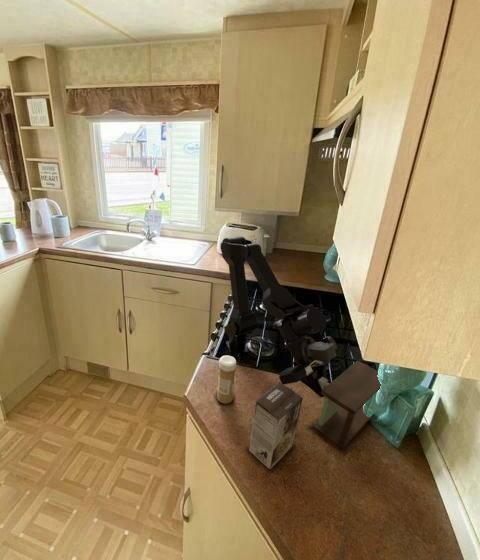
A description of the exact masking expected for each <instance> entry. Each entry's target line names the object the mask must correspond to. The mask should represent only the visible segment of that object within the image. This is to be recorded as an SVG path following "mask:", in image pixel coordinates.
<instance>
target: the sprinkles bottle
mask: <svg viewBox="0 0 480 560" xmlns="http://www.w3.org/2000/svg"><path fill="white" fill-rule="evenodd" d="M218 366H219V367H218V368H219V369H218V377H217V379H218V380H217V394H216V398H217V400H218V402H220V403H222V404H230V403H232V401H233V399H234V390H235V389H234V388H235V374H236V369H237V360H236V358H235V357H234V356H231V355H222V356H221V357H220V358H219V360H218Z"/></svg>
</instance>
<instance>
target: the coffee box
mask: <svg viewBox="0 0 480 560" xmlns="http://www.w3.org/2000/svg"><path fill="white" fill-rule="evenodd" d="M303 398H304V397H303V396H302V395H300V394H298V393H297V392H295V390H293V389H291V388H290V387H288V386H287V385H286V384H282V383H281V381H279V382H277V383H276V384H274V386H272V387H271V388H270V389H269V390H268V391H267V392H265V393H264V394H263V395H261V396H260V397H259V398H258V399H256V400H255V407H254V414H253V420H252V427H251V434H250V440H249V449H248V451H249V452H250V453H251V454H252V455H253V456H254V457H255V458H257V459H258V460H259V462H260V463H262V464H263V465H264V466H265V467H266V468H267V469H269V470H272V468H273V467H274V466H275V465H276V464H277V463H278V462H279V461H280V460H281V459H282V458H283V456H285V454H287V453H288V452H289V450H290V449H292V447H293V445H294V441H295V435H296V430H297V426H298V422H299V418H300V412H301V408H302V403H303V400H304V399H303Z"/></svg>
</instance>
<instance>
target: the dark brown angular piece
mask: <svg viewBox="0 0 480 560" xmlns="http://www.w3.org/2000/svg"><path fill="white" fill-rule="evenodd" d="M378 371H379V370H376V369H375V368H372V367H371V366H370V365H367V364H366V363H363V362H361V360H356V361H355V362H353V363H352V364H351V365H350V366H348V368H346V369H345V370H344V371H343V372H342V373H341V374H339V375H338V376H337V377H335V379H333V380H332V381H331V382H330V384H329V385H327V386H326V387H325V388H324V389H323V390H322V391H321V394H322V395H323V396H325V397H327V398H328V399H330V400H331V401H333V402H334V403H336V404H337V405H339V408H338V411H337V412H336V413H335V414H334V415H333V416H332V417H330V418H329V419H328V420H327V421H326V422H325V423H324V424H323V425H322V426H321V425H319V424H318V422H319V419H318V420H316V421H315V422H314V423H313V424H312V426H311V429H312V430H313V431H314V432H316V433H317V434H318V435H320V436H321V437H322V438H324V439H325V440H326V441H327V442H329V443H330V444H332V445H333V446H335V447H336V449H338V450H339V451H343V450H344V449H345V448H346V447H347V446H348V444H349V443H350V442H351V441H352V440H353V439H354V438H355V437H356V435H357V434H358V433H360V431H361V430H362V429H363V428H364V427H365V425H366V424H367V423H368V422H369V421H370V420H371V419H372V418H371V417H370V418H369V417H367V416H366V415H365V414H364V413H363V405H364V404H366V403H367V402H368V401H370V400H371V398H372V397H373V396H375V394H376V392H377V391H378V390H379V389H380V386H381V384H380V382H379V380H378V377H377V375H378Z"/></svg>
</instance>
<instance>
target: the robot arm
mask: <svg viewBox="0 0 480 560" xmlns="http://www.w3.org/2000/svg"><path fill="white" fill-rule="evenodd" d="M220 251H221V255H222V259H223V260H224V261H225V263H226V264H227V265H228V271H229V281H230V288H231V296H232V306H233V308H232V311H231V313H230V316H229V323H228V324H227V325H224V327H223V331H224V333H225V334H226V336H228V337H229V340H226V341H225V344H226V347H227V350H228V351H229V353H230V354H232V355H233V354H245V353H249V349H248V347H247V337H248V336H247V335H249V334H253V333H254V331H255V330H256V329H257V325H258V320H257V312H255V311H253V310H252V308H251V307H250V304H249V296H248V286H247V279H246V268H245V263H246V262H247V264H248V266H249V268H250V270H251V271H252V274H253V275H254V277H255V279H256V281H257V283H258V285H259V287H260V288H261V291H262V293H263V294H262V302H263V305H264V308H265V311H266V312H267V314H268V315H269V316H270V317H272V318H274V319H273V324H272V327H271V328H272V329H273V330H275V329H277V330H278V331H279V333H280V335H281V337H282V339H283V341H284V342H285V344H286V346H285V347H284V350H285V352H289V353H290V354H291V356H292V358H293V361H292V362H291V363H292V366H291V367H287V368H285V369H284V370H283V371H281V372H279V376H278V379H279V382H280V383H282V384H284V385H288V384H295V383H299V382H301V383H302V384H304V385H305V386H307V387H308V388H309V389H310V390H311V391H313V392H314V394H315V393H316V394H318V395H319V396H320V397H321V398H323V397H324V396H323V395H322V394H321V391H322V388H321V386H320V384H319V382H318V380H319V379H320V378H322V377H324V378H326V379H327V380H328V375H327V368H328V367H329V364H330V363H331V360H332V359H333V358H336V357H337V354H339V352H338V350H337V349H338V348H339V347H338V346H339V345H337V342H336V341H335V339H334V338H333V337H332V336H329V335H328V336H325V337H323V338H322V340H320V341H315V339H314V338H313V337H312V336H310V335H313V334H316V333H320V332H322V331H324V330H325V329H326V328H327V323H328V321H327V318H326V316H325V314H324V313H323V312H322V311H321V310H319V309H318V308H315V307H314V304H312V303H311V304H307V305H305V306H304V305H303V304H302V303H300V302H299V301H297V300H296V299H295V297H294V296H293V295H292V293H291V292H290V291H289V289H288V288H286V287H285V286H283V285H282V284H280V282H279V281H278V279H277V277H276V275H275V274H274V271H273V269H272V268H271V266H270V264H269V262H268V261H267V259H266V257H265V255H264V254H263V252H262V246H261V245H260V244H259V243H256V242H254V241H253V240H251V239H247V238H245V237H244V235H238V236H232V237H231V236H230V237H225V238H223V239H222V241H221V242H220Z"/></svg>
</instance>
